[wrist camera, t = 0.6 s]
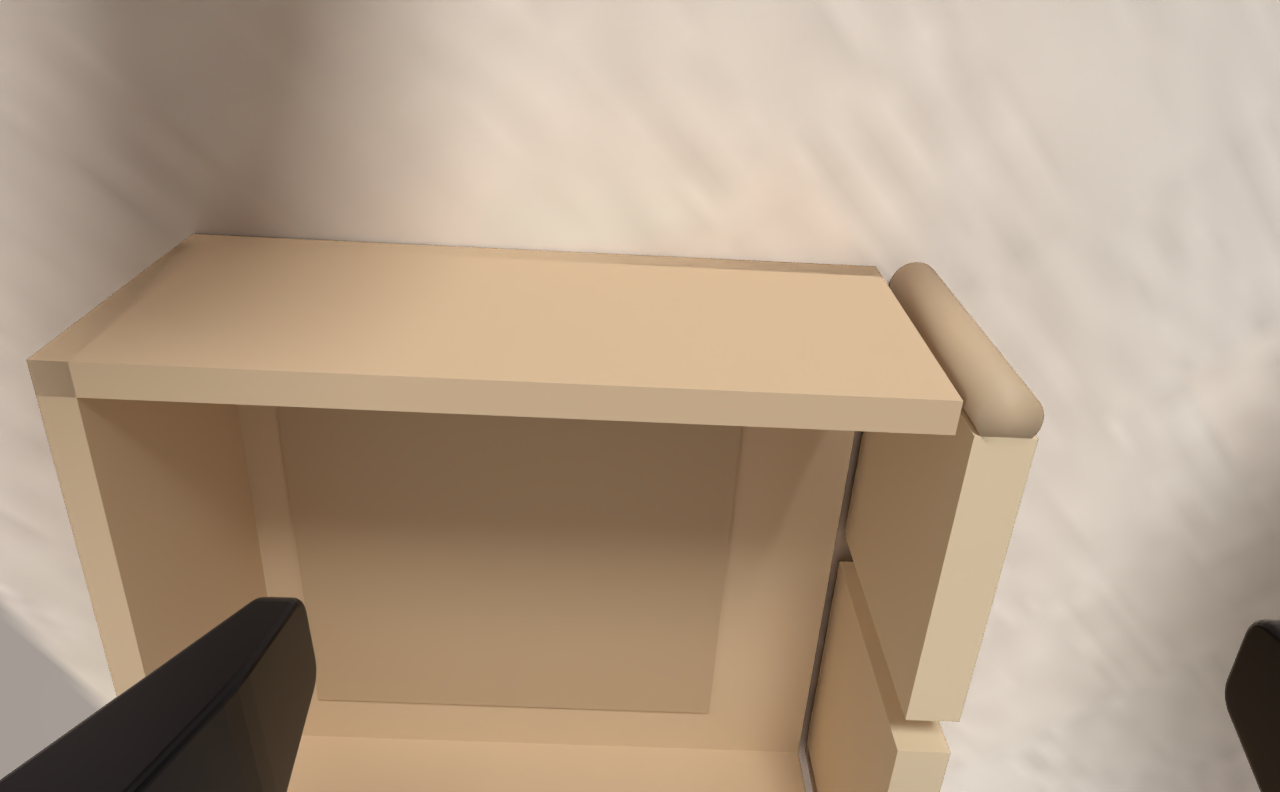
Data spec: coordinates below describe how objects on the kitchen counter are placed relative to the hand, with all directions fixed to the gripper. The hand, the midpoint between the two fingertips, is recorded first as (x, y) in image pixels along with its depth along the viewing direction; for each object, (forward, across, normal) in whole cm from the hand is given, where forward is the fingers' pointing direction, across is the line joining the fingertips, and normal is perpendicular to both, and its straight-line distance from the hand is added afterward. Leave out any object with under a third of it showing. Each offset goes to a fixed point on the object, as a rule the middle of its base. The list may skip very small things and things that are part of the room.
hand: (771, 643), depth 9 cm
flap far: (+12, -4, +11) cm, 17 cm away
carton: (+12, +4, +7) cm, 14 cm away
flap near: (+12, -4, +4) cm, 13 cm away
